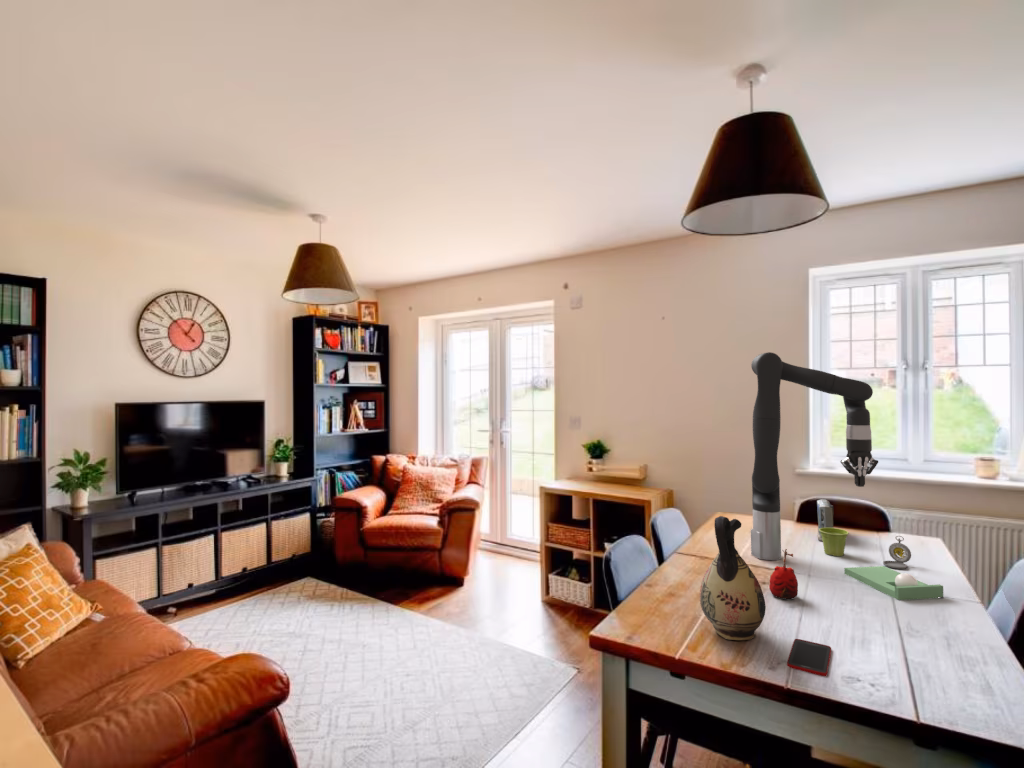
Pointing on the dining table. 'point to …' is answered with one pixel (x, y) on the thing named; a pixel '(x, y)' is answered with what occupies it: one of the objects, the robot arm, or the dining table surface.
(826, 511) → the radio
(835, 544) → the plant pot
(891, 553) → the pocket watch
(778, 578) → the red clay folk toy
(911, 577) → the ball
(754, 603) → the ceramic jug
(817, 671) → the cell phone
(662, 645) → the dining table surface
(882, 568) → the green
